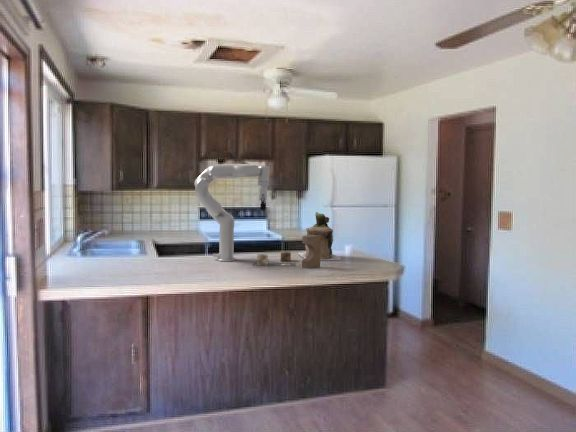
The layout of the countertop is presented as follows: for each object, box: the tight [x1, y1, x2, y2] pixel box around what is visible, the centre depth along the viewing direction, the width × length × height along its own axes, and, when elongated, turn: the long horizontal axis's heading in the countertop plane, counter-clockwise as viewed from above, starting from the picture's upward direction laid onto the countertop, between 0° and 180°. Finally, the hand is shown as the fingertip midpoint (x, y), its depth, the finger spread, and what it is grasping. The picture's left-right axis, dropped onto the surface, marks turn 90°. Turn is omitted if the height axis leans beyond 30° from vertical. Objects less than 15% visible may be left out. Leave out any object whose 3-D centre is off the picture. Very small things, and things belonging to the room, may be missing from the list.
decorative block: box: [301, 235, 321, 269], centre depth 310 cm, size 11×6×20 cm, turn 127°
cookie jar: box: [298, 212, 341, 262], centre depth 343 cm, size 25×25×32 cm
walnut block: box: [280, 251, 292, 263], centre depth 331 cm, size 6×6×6 cm
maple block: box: [256, 253, 269, 265], centre depth 317 cm, size 6×6×6 cm
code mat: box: [251, 262, 297, 267], centre depth 318 cm, size 28×12×1 cm, turn 90°
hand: (263, 209), depth 337 cm, fingers open, 9 cm apart
